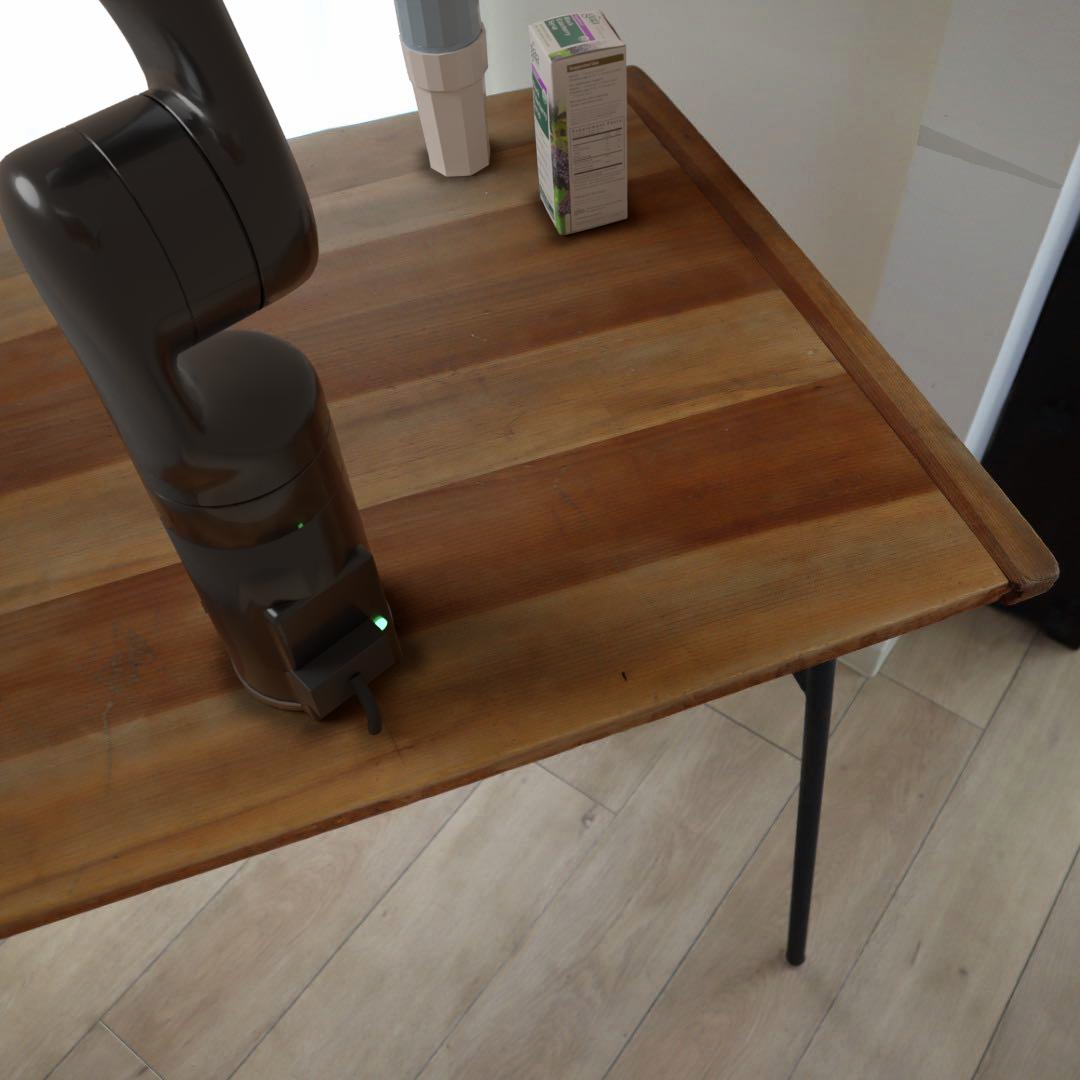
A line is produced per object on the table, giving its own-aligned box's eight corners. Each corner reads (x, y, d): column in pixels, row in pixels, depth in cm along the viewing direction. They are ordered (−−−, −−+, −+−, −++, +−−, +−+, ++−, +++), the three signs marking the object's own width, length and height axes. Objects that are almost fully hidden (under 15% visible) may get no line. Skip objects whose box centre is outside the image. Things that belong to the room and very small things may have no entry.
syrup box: (538, 198, 94) (522, 22, 83) (607, 180, 95) (601, 4, 84) (560, 238, 91) (546, 60, 80) (632, 219, 92) (628, 41, 80)
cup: (411, 149, 100) (389, 24, 92) (485, 129, 101) (469, 3, 93) (435, 190, 96) (413, 63, 88) (510, 169, 97) (497, 41, 89)
